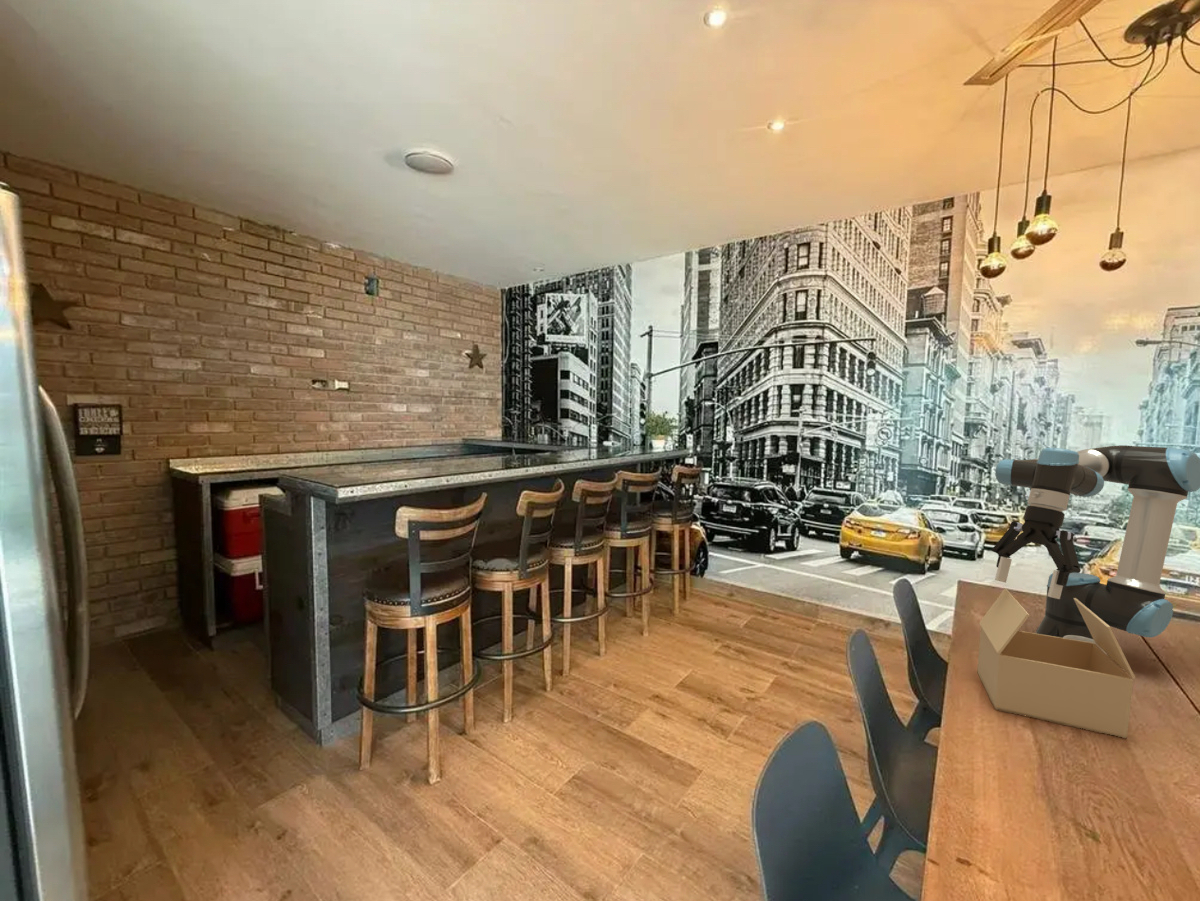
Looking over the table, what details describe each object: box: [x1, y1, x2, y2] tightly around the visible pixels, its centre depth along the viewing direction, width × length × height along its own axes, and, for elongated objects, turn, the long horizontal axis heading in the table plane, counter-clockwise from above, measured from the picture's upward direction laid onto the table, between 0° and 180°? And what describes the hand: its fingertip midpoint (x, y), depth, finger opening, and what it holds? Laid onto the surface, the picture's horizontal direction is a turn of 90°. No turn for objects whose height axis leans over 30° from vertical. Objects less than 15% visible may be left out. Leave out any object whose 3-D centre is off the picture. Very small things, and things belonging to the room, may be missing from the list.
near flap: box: [1073, 598, 1136, 679], centre depth 122 cm, size 12×20×1 cm
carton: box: [976, 626, 1134, 740], centre depth 128 cm, size 24×20×14 cm
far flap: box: [979, 588, 1030, 654], centre depth 131 cm, size 12×20×1 cm
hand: (1025, 589), depth 128 cm, fingers open, 13 cm apart
